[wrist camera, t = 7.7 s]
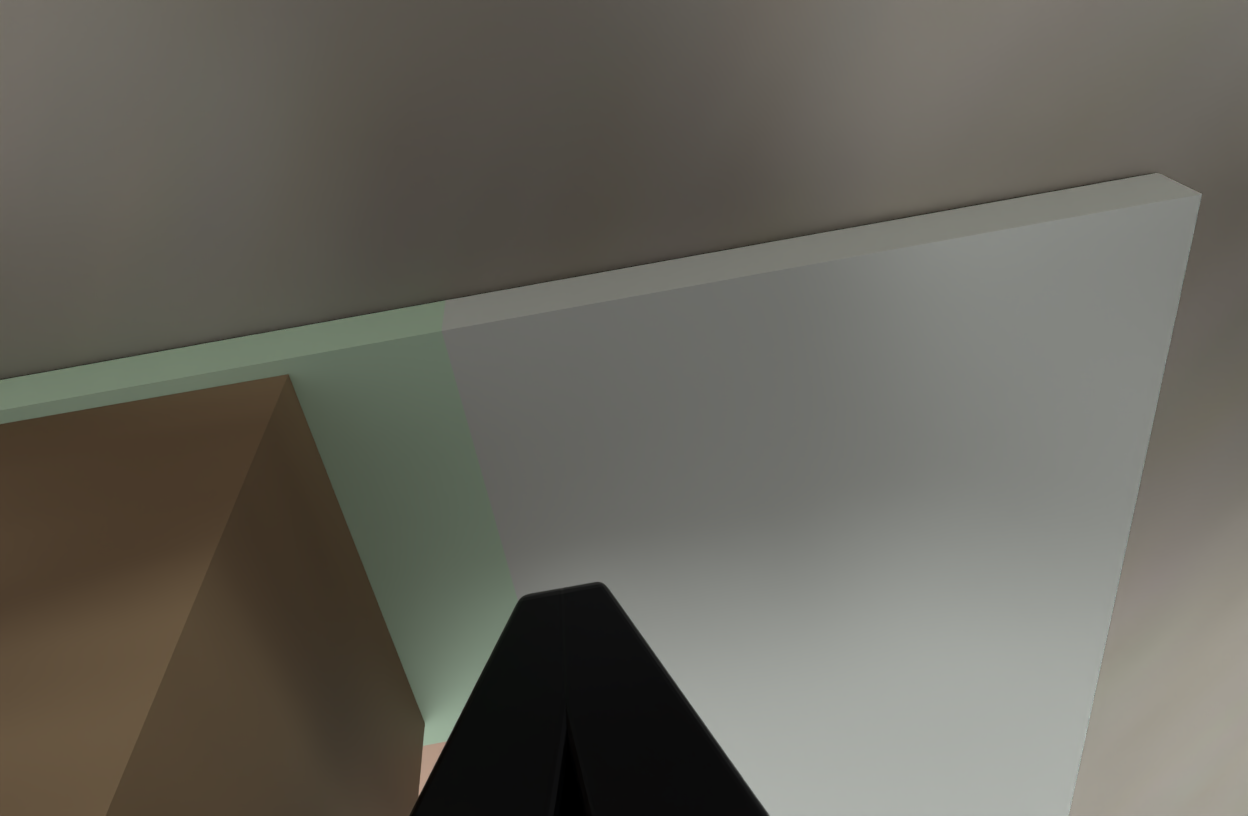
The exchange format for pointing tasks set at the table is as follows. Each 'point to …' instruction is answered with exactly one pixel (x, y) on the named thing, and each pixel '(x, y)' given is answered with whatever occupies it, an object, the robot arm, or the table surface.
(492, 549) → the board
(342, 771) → the walnut cube
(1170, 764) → the table surface
